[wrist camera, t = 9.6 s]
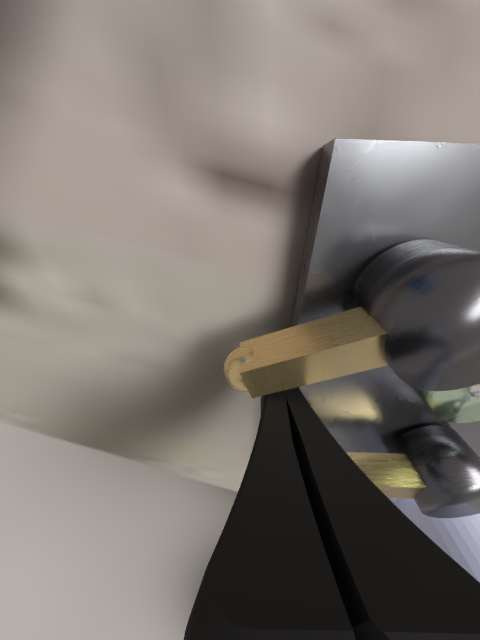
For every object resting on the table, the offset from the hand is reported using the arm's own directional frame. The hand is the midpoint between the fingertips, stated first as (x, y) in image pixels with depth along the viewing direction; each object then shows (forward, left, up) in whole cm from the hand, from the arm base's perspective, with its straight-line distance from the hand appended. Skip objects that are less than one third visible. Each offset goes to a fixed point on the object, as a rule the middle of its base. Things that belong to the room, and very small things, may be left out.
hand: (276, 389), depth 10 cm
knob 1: (+4, -2, -1) cm, 4 cm away
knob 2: (-6, -8, -1) cm, 10 cm away
